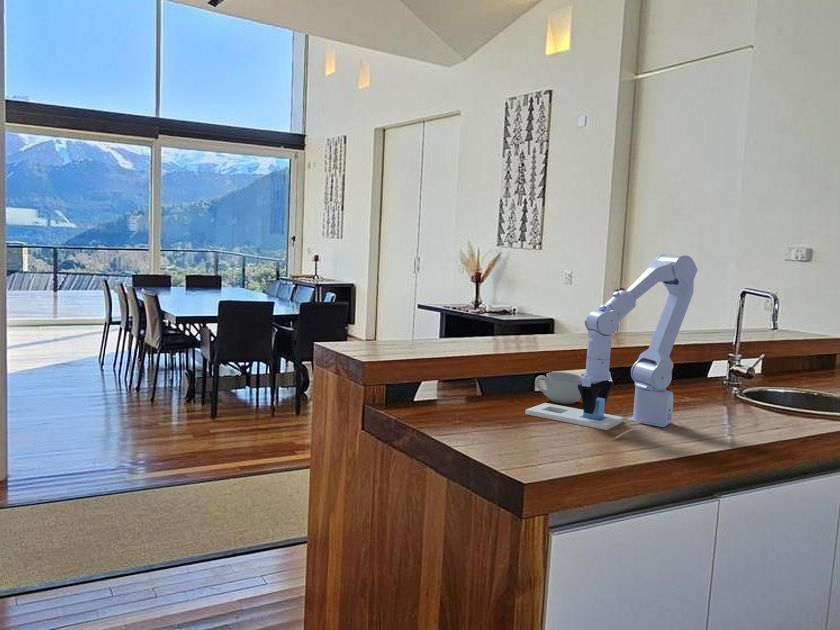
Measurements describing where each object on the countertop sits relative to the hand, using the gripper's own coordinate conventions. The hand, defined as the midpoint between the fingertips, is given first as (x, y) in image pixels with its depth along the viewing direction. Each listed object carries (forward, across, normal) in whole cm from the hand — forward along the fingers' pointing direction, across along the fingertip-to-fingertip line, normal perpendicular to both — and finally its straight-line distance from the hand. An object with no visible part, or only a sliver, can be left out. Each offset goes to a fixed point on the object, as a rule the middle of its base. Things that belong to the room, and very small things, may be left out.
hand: (594, 410), depth 181 cm
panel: (+3, 0, -5) cm, 6 cm away
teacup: (+3, -17, -17) cm, 25 cm away
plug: (+3, 0, 0) cm, 3 cm away
